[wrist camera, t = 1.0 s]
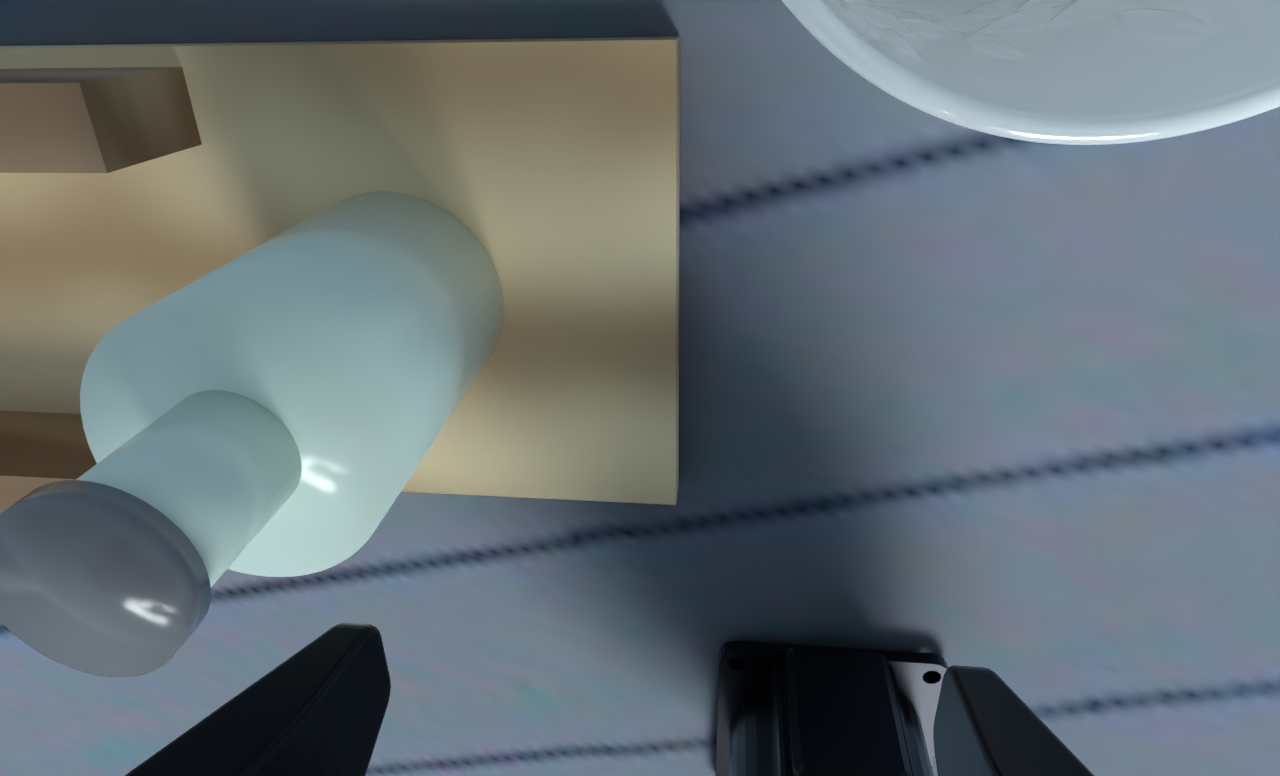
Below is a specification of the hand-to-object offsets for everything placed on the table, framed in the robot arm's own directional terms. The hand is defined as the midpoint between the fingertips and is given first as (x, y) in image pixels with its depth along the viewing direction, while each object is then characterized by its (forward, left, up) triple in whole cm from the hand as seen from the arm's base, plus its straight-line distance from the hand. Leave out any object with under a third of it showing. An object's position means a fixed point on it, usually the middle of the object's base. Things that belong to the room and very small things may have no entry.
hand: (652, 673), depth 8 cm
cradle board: (0, +12, -12) cm, 17 cm away
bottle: (0, +7, -11) cm, 13 cm away
